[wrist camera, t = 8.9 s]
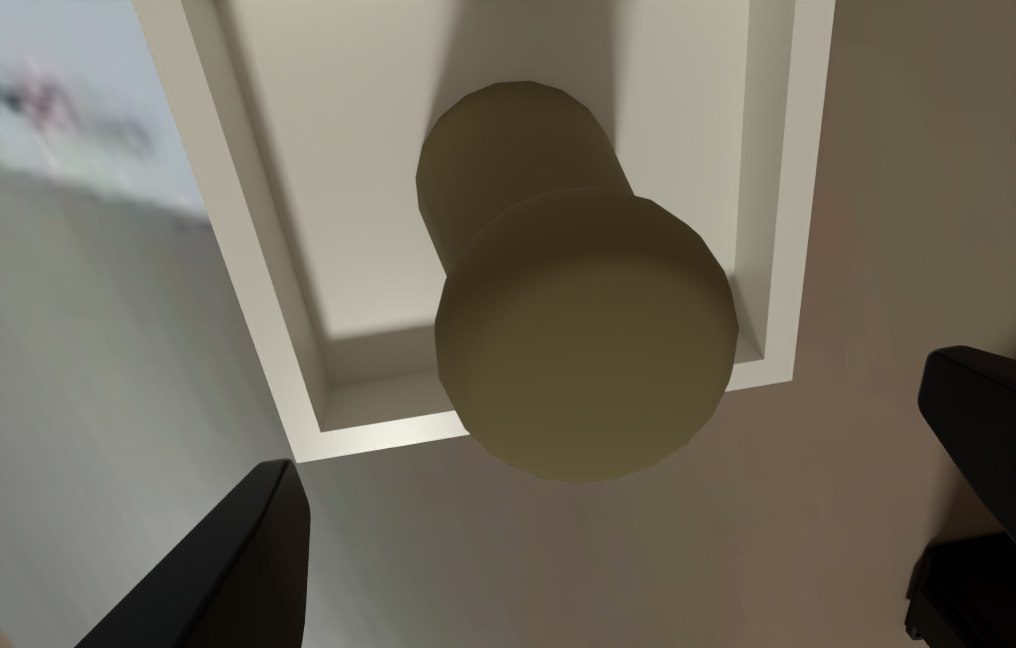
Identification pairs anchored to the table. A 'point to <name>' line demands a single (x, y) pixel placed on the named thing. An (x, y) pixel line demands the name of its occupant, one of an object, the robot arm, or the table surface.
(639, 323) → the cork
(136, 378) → the table surface
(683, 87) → the tray
